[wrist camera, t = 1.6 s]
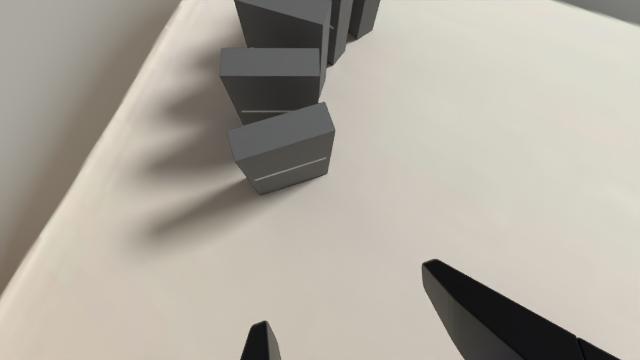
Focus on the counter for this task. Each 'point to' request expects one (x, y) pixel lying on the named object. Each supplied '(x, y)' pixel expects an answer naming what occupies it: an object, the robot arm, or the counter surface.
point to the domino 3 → (284, 148)
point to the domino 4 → (338, 29)
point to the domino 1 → (287, 25)
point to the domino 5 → (362, 17)
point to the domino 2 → (270, 80)
